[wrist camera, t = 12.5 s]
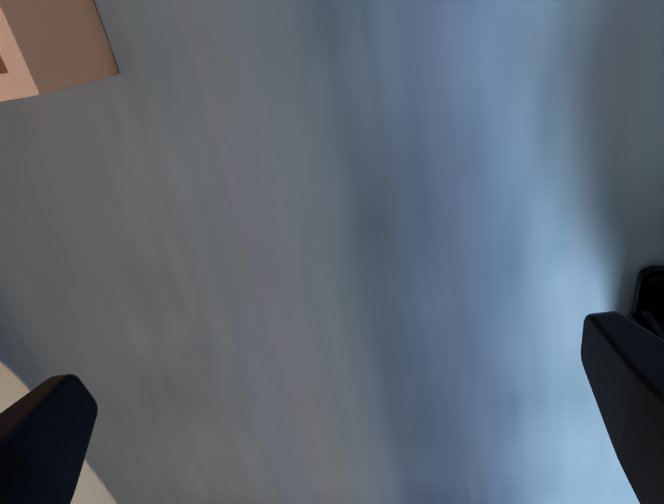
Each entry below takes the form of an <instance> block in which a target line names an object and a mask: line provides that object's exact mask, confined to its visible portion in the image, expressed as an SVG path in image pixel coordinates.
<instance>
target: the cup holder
mask: <svg viewBox="0 0 664 504" xmlns="http://www.w3.org/2000/svg"><path fill="white" fill-rule="evenodd" d="M117 74H120V73H119V70H118V67H117V65H116V62H115V59H114V56H113V53H112V51H111V48H110V45H109V42H108V39H107V37H106V34H105V31H104V28H103V26H102V23H101V20H100V17H99V14H98V12H97V9H96V6H95V3H94V0H0V101H6V100H12V99H18V98H24V97H29V96H35V95H41V94H45V93H48V92H52V91H56V90H60V89H64V88H67V87H71V86H75V85H79V84H83V83H86V82H90V81H94V80H98V79H102V78H105V77H109V76H113V75H117Z"/></svg>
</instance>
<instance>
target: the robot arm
mask: <svg viewBox="0 0 664 504" xmlns="http://www.w3.org/2000/svg"><path fill="white" fill-rule="evenodd" d="M655 276H658V278H657V279H656V280H655V281H652V282H648V281H649V279H650V278H652V277H655ZM581 359H582V363H583V367H584V370H585V372H586V375H587V378H588V380H589V383H590V386H591V388H592V391H593V394H594V396H595V399H596V402H597V405H598V407H599V410H600V413H601V415H602V418H603V421H604V423H605V426H606V429H607V431H608V434H609V437H610V440H611V442H612V445H613V447H614V450H615V452H616V455H617V457H618V460H619V462H620V464H621V466H622V468H623V470H624V472H625V474H626V476H627V478H628V480H629V482H630V484H631V486H632V488H633V490H634V492H635V494H636V496H637V498H638V500H639V502H640V504H664V265H663V266H650V267H646V268H644V269H643V270H641V271H640V272H639V274H638V276H637V282H636V287H635V293H634V299H633V305H632V311H631V313H628V315H627V316H626V317H624V316H623V315H621V314H619V313H617V312H612V311H610V312H601V313H593V314H589V315H587V316H586V317H585V320H584V326H583V335H582V345H581ZM97 411H98V408H97V403H96V401H95V399H94V398H93V397H92V395H91V394H90V392H89V391H88V390H87V388H86V387H85V386H84V384H83V383H82V382H81V380H80V379H79V378H78V377H77V376H75V375H73V374H67V375H58V376H53V377H50V378H49V379H47V380H46V381H44V382H43V383H41V384H40V385H39V386H37V387H36V388H35V389H33V390H32V391H31V392H29V393H28V394H26V395H25V396H24V397H22V398H21V399H20V400H18V401H17V402H15V403H14V404H13V405H11V406H10V407H9V408H7V409H6V410H5V411H3V412H2V413H0V504H70V503H71V500H72V497H73V495H74V491H75V489H76V485H77V482H78V479H79V475H80V472H81V468H82V465H83V462H84V458H85V455H86V451H87V448H88V444H89V441H90V438H91V434H92V431H93V427H94V424H95V420H96V417H97Z"/></svg>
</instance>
